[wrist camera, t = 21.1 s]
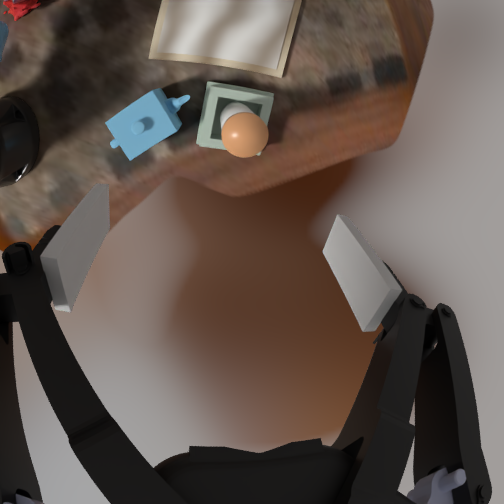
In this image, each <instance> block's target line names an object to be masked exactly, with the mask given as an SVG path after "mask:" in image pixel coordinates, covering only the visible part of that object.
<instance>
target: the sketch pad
mask: <svg viewBox="0 0 504 504" xmlns="http://www.w3.org/2000/svg"><path fill="white" fill-rule="evenodd" d="M301 2H302V0H162V3H161V7H160V11H159V14H158V18H157V22H156V26H155V31H154V35H153V39H152V44H151V49H150V54H149V59H159V60H174V61H185V62H195V63H204V64H211V65H218V66H225V67H231V68H237V69H242V70H248V71H253V72H257V73H262V74H267V75H271V76H275V77H279V78H282V74H283V70H284V66H285V62H286V58H287V55H288V51H289V47H290V43H291V39H292V35H293V32H294V28H295V24H296V20H297V16H298V13H299V9H300V5H301Z"/></svg>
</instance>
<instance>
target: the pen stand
mask: <svg viewBox="0 0 504 504" xmlns="http://www.w3.org/2000/svg"><path fill="white" fill-rule="evenodd" d="M273 96H274V93H270V92H265V91H261V90H256V89H251V88H246V87H240V86H235V85H229V84H222V83H216V82H209V81H208V82H207V87H206V92H205V97H204V102H203V108H202V113H201V119H200V124H199V130H198V136H197V142H196V144H200V145H199V146H203V147H210V148H218V149H224V150H227V149H226V148H225V147H224V145H223V142H222V136H221V131H222V129H221V121H220V113H221V111H222V109H223V108H224V107H225V106H226V105H227V104H229V103H232V102H240V103H243V104H245V105H246V106H247V107H248V108H249V109H250V110H251V111H252V112H253V113H254V114H255V115H257V116H259V117H260V118H261V119H262V120H263V121H264V123H265V124H266V126H267V124H268V120H269V116H270V112H271V108H272V104H273V100H274V98H273ZM260 153H261V152H259V153H258V154H256V155H260Z"/></svg>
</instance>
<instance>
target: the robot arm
mask: <svg viewBox="0 0 504 504" xmlns="http://www.w3.org/2000/svg"><path fill="white" fill-rule="evenodd" d="M8 32H9V30H8V26H7V25H6V23H4V22H3V21H0V62H1V60H2V52H3V49H4V46H5V43H6V40H7V37H8ZM38 149H39V130H38V125H37V121H36V118H35V116H34V113H33V112H32V110H31V108H30V107H29V106H28V105H27V104H26V103H25V102H24V101H23V100H21V99H19V98H16V97H6V98H2V99H0V187H4V186H8V185H12V184H14V183H16V182H17V181H19V180H20V179H21V178H23V177H24V176H25V175H26V174H27V173H28V172H29V171H30V170H31V168H32V167H33V165H34V163H35V160H36V157H37V154H38ZM109 229H110V220H109V184H95V185H94V187H93V188H92V189H91V190H90V191H89V192H88V194H87V195H86V196H85V197H84V198H83V199H82V201H81V202H80V203H79V204H78V206H77V207H76V208H75V209H74V211H73V212H72V213H71V214H70V216H69V217H68V218H67V219H66V221H65V222H64V223H63V225H62V226H60V225H55V226H53V227H52V228H50V229H49V230H47V232H46V233H45V234H44V236H43V237H42V238H41V240H40V241H39V243H38V244H37V245H36V246H35V248H34V249H33V251H32V249H31V246H30V245H29V244H28V243H26V242H17V243H14V244H12V245H10V246H8V247H7V248H6V249H5V250H4V252H3V253H2V259H3V263H4V266H5V269H6V272H7V273H2V274H0V504H44V503H43V501H42V496H41V492H40V487H39V484H38V480H37V477H36V473H35V470H34V467H33V464H32V460H31V457H30V453H29V450H28V446H27V442H26V438H25V434H24V429H23V424H22V419H21V414H20V408H19V402H18V395H17V389H16V379H15V369H14V356H13V322H19V324H20V327H21V330H22V333H23V337H24V340H25V343H26V346H27V348H28V351H29V354H30V357H31V359H32V362H33V365H34V367H35V370H36V372H37V375H38V377H39V380H40V382H41V384H42V386H43V389H44V391H45V393H46V395H47V397H48V400H49V402H50V404H51V406H52V408H53V410H54V412H55V414H56V416H57V418H58V419H59V421H60V423H61V425H62V427H63V429H64V430H65V432H66V434H67V435H68V438H69V444H70V446H71V448H72V450H73V451H74V453H75V455H76V456H77V458H78V459H79V461H80V463H81V464H82V465H83V467H84V469H85V470H86V471H87V473H88V474H89V476H90V477H91V479H92V480H93V481H94V483H95V484H96V485H97V487H98V488H99V489H100V491H101V492H102V493H103V494H104V496H105V497H106V498H107V500H108V501H109V502H110V503H111V504H488V503H489V501H490V499H491V495H492V487H491V482H490V478H489V474H488V470H487V466H486V462H485V459H484V455H483V452H482V449H481V440H480V430H479V420H478V413H477V406H476V399H475V393H474V388H473V383H472V378H471V373H470V368H469V364H468V359H467V355H466V351H465V348H464V343H463V340H462V336H461V333H460V329H459V326H458V323H457V319H456V316H455V314H454V312H453V311H452V309H451V308H450V307H449V306H447V305H445V304H442V303H439V304H438V305H437V306H436V308H435V309H434V310H432V309H429V308H426V305H425V303H424V302H423V300H422V299H420V298H419V297H418V296H416V295H414V294H408V293H407V291H406V290H405V289H404V287H403V286H402V284H401V283H400V281H399V280H398V279H397V277H396V276H395V274H393V271H392V270H391V269H390V267H389V266H388V265H387V264H386V263H384V262H383V261H382V260H381V259H380V257H379V256H378V255H377V254H376V252H375V251H374V249H373V248H372V247H371V245H370V244H369V243H368V241H367V240H366V239H365V237H364V236H363V235H362V233H361V232H360V231H359V230H358V228H357V227H356V226H355V224H354V223H353V222H352V221H351V219H350V218H349V217H348V216H344V215H338V214H337V217H336V219H335V222H334V224H333V227H332V229H331V232H330V234H329V237H328V239H327V242H326V244H325V247H324V249H323V254H324V255H325V257H326V259H327V261H328V263H329V265H330V267H331V269H332V271H333V273H334V275H335V276H336V278H337V280H338V282H339V284H340V286H341V288H342V290H343V292H344V294H345V296H346V298H347V300H348V302H349V304H350V306H351V308H352V310H353V312H354V314H355V316H356V318H357V321H358V323H359V325H360V327H361V329H362V331H375V330H376V329H377V327H378V326H379V324H380V323H382V325H383V327H384V329H383V330H382V332H381V333H380V334H379V335H378V337H377V338H376V339H375V341H374V342H373V343H374V344H375V343H376V342H377V344H376V347H375V350H374V353H373V356H372V359H371V362H370V364H369V367H368V370H367V372H366V375H365V378H364V380H363V383H362V385H361V388H360V390H359V393H358V395H357V397H356V400H355V402H354V405H353V407H352V409H351V411H350V414H349V416H348V418H347V420H346V422H345V425H344V427H343V429H342V431H341V433H340V435H339V437H338V438H337V440H336V441H335V442H334V444H333V445H332V446H326V445H322V441H321V438H318V439H312V440H305V441H298V442H291V443H288V444H286V445H283V446H280V447H277V448H275V449H272V450H269V451H266V452H263V453H255V452H249V451H243V450H238V449H233V448H228V447H204V446H203V447H202V446H190V447H189V452H187V453H182V454H178V455H175V456H172V457H170V458H168V459H166V460H164V461H162V462H161V463H159V464H158V465H157V466H155V467H154V468H153V467H152V466H151V465H150V464H149V463H148V462H147V461H146V459H145V458H144V457H143V456H142V455H141V453H140V452H139V451H138V450H137V449H136V447H135V446H134V445H133V443H132V442H131V441H130V440H129V438H128V437H127V436H126V434H125V433H124V432H123V431H122V429H121V428H120V426H119V425H118V424H117V422H116V421H115V420H114V419H113V418H112V417H111V415H110V414H109V413H108V411H107V410H106V408H105V407H104V405H103V404H102V402H101V401H100V399H99V398H98V396H97V394H96V393H95V391H94V390H93V388H92V386H91V385H90V383H89V381H88V379H87V378H86V376H85V374H84V373H83V371H82V369H81V367H80V365H79V364H78V362H77V360H76V358H75V356H74V354H73V352H72V351H71V349H70V347H69V345H68V343H67V341H66V338H65V336H64V334H63V332H62V330H61V328H60V326H59V324H58V321H57V319H56V317H55V314H54V312H53V310H52V307H51V305H50V304H51V301H52V300H53V303H54V306H55V309H56V310H61V311H66V312H71V311H72V308H73V306H74V303H75V301H76V298H77V296H78V293H79V291H80V289H81V287H82V284H83V282H84V280H85V278H86V275H87V273H88V271H89V269H90V267H91V265H92V263H93V260H94V258H95V256H96V254H97V252H98V250H99V248H100V246H101V244H102V242H103V240H104V238H105V237H106V235H107V233H108V231H109ZM436 343H437V345H436V347H435V349H434V345H435V344H436ZM414 398H415V426H414V425H412V424H410V423H409V420H410V416H411V411H412V407H413V402H414ZM414 435H415V442H414V461H413V462H414V463H413V475H414V485H415V487H414V489H413V490H411V491H410V492H409V493H408V494H407V497H406V496H404V495H403V494H401V493H400V492H398V491H397V490H398V487H399V484H400V482H401V479H402V476H403V473H404V470H405V467H406V464H407V460H408V457H409V454H410V450H411V447H412V443H413V439H414Z"/></svg>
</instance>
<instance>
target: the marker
mask: <svg viewBox="0 0 504 504" xmlns="http://www.w3.org/2000/svg"><path fill="white" fill-rule="evenodd" d="M220 121H221V129H222V131H221V136H222V142H223V145H224V147H225V148H226V149H227V150H228V151H229V152H230V153H231V154H233V155H235V156H238V157H251V156H254V155H256V154H258V153H259V152H261V151H262V150H263V149H264V147H265V146H266V144H267V141H268V136H269V135H268V128H267V126H266V124H265V123H264V121H263V120H262V119H261V118H260V117H259V116H257V115H255V114H254V113H253V112H252V111H251V110H250V109H249V108H248V107H247V106H246V105H245V104H243V103H240V102H232V103H229V104H227V105H226V106H225V107H224V108H223V109H222V111H221V113H220Z"/></svg>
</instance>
